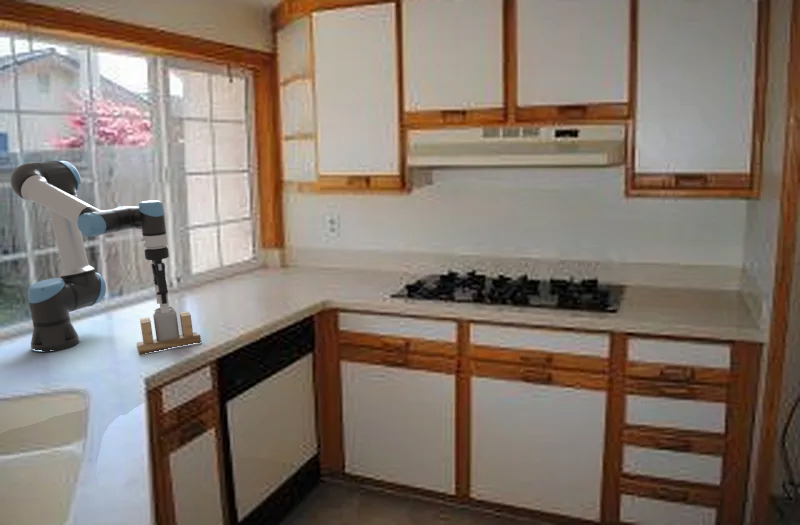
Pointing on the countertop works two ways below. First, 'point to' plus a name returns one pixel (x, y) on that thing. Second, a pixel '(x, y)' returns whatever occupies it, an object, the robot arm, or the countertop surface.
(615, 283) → the countertop surface
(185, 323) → the wooden u-shaped stand
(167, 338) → the can
